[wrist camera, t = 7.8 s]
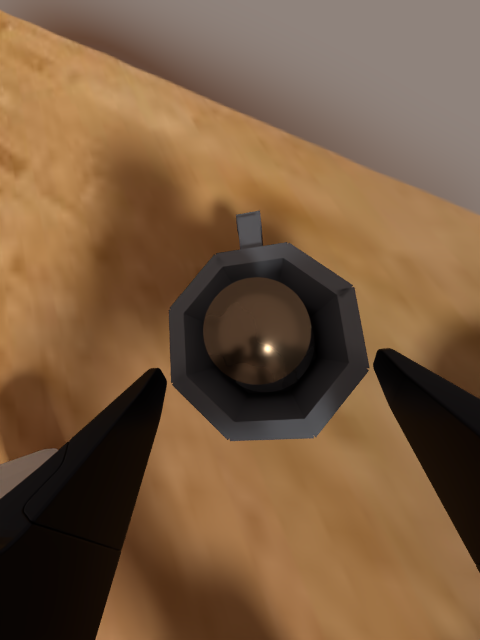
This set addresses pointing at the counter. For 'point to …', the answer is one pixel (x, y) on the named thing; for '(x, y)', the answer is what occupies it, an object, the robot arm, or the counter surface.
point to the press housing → (329, 348)
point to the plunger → (259, 334)
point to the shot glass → (21, 469)
